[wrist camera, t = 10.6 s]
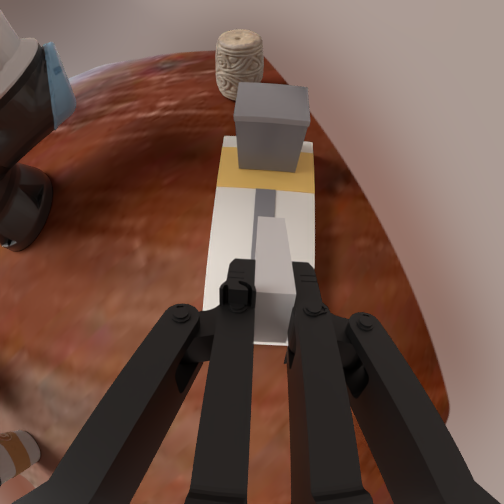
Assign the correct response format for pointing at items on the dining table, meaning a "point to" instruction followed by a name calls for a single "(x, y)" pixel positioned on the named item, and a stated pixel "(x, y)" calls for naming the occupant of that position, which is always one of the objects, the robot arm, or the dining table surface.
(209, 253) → the switch panel
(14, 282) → the dining table surface
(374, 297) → the dining table surface
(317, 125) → the dining table surface
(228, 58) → the carving
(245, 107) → the switch tab
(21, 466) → the coffee cup
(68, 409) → the dining table surface
